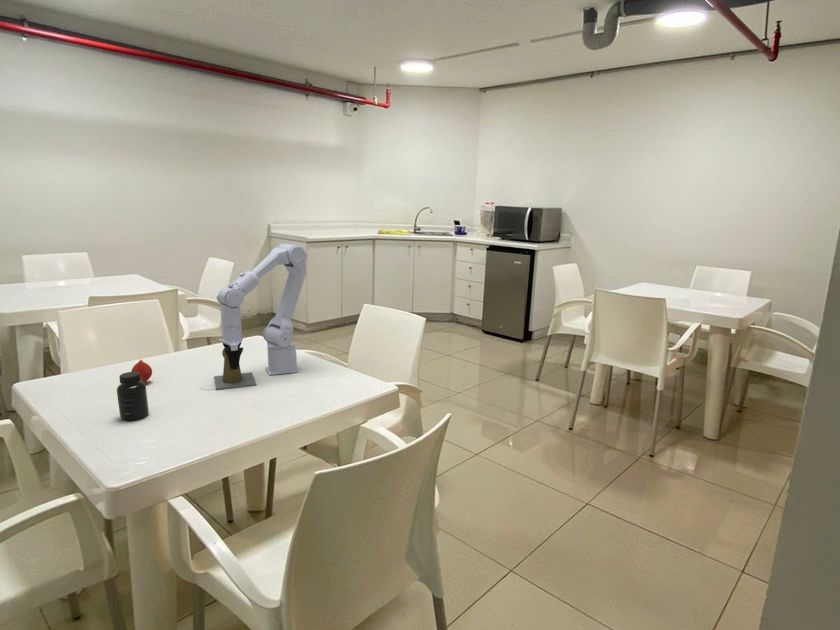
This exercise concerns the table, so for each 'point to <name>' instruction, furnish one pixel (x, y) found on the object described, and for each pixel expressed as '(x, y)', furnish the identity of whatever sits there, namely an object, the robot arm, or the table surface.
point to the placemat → (246, 381)
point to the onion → (143, 370)
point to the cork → (230, 371)
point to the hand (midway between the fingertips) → (233, 366)
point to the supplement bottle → (132, 397)
